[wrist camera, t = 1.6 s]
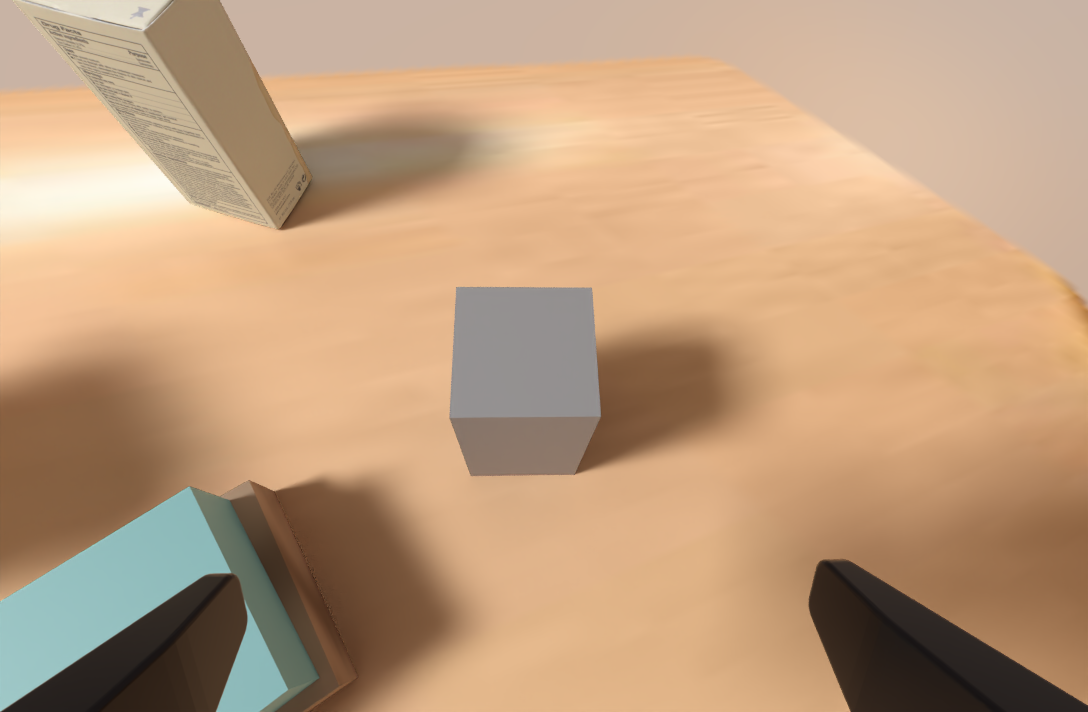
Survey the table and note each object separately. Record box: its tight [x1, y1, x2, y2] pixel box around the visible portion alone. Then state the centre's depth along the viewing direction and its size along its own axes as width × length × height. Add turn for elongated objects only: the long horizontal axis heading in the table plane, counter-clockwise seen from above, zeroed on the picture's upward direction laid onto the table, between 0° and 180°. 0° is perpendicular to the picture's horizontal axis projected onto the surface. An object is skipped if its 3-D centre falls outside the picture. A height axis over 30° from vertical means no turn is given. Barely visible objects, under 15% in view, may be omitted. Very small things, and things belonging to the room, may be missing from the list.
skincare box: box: [12, 0, 312, 229], centre depth 27 cm, size 6×4×12 cm
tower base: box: [220, 480, 358, 712], centre depth 22 cm, size 9×9×3 cm
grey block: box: [450, 287, 601, 476], centre depth 23 cm, size 5×5×9 cm
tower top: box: [0, 486, 320, 712], centre depth 19 cm, size 8×8×3 cm
